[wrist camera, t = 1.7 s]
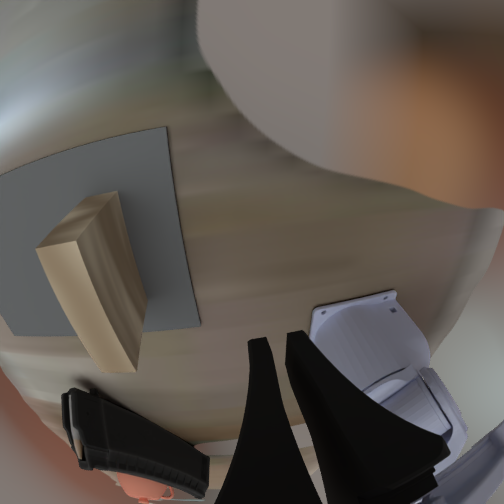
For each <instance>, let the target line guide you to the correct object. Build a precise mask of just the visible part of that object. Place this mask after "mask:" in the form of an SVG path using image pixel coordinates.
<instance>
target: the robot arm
mask: <svg viewBox="0 0 504 504" xmlns="http://www.w3.org/2000/svg"><path fill="white" fill-rule="evenodd" d="M396 295H397V292H396V291H395V290H391V291H387V292H383V293H379V294H375V295H371V296H367V297H362V298H358V299H354V300H349V301H345V302H340V303H336V304H331V305H326V306H321V307H317V308H315V309H314V310H313V312H312V320H311V327H310V334H309V337H308V335H307V334H306V333H305V332H304V331H303V330H300V331H295V332H290V333H287V343H286V358H285V365H286V369H287V373H288V377H289V381H290V384H291V387H292V390H293V392H294V395H295V397H296V400H297V402H298V405H299V407H300V410H301V412H302V415H303V417H304V419H305V422H306V424H307V427H308V429H309V432H310V435H311V438H312V441H313V445H314V449H315V452H316V456H317V460H318V463H319V467H320V471H321V475H322V480H323V484H324V488H325V493H326V497H327V502H328V504H485V503H486V502H487V501H488V500H489V499H490V497H491V496H492V495H493V493H494V492H495V491H496V490H497V488H498V487H499V486H500V484H501V483H502V481H503V480H504V420H503V421H502V422H501V423H500V424H499V425H498V426H497V427H496V428H494V429H493V430H492V431H490V432H489V433H488V434H487V435H485V436H484V437H483V438H482V439H480V440H479V441H478V442H477V443H476V444H475V445H474V446H472V449H470V450H469V451H468V452H467V453H465V454H464V455H463V456H462V457H460V458H459V459H458V460H456V459H457V457H458V456H459V454H460V452H461V450H462V448H463V446H464V444H465V442H466V440H467V437H468V435H467V433H466V431H467V429H468V427H467V426H466V424H465V422H464V420H463V418H462V417H461V412H460V410H459V408H458V406H457V404H456V403H455V401H454V399H453V398H452V396H451V394H450V393H449V391H448V390H447V388H446V387H445V385H444V384H443V382H442V381H441V379H440V378H439V376H438V375H437V373H436V372H435V371H434V369H433V368H428V367H429V364H430V350H429V346H428V343H427V340H426V338H425V336H424V335H423V333H422V332H421V331H420V329H419V328H418V327H417V325H416V324H415V323H414V322H413V320H412V319H411V318H410V317H409V315H408V314H407V313H406V312H405V310H404V309H403V308H402V307H401V306H400V304H399V303H398V302H397V301H396V300H395V298H396ZM322 311H323V312H322ZM248 353H249V363H250V373H249V386H248V394H247V401H246V407H245V413H244V418H243V423H242V427H241V431H240V435H239V439H238V443H237V446H236V450H235V453H234V456H233V459H232V462H231V465H230V467H229V470H228V473H227V475H226V478H225V481H224V483H223V486H222V488H221V490H220V492H219V495H218V497H217V499H216V501H215V503H214V504H322V502H321V500H320V498H319V496H318V493H317V491H316V489H315V487H314V484H313V482H312V480H311V478H310V475H309V473H308V470H307V468H306V466H305V463H304V461H303V458H302V456H301V453H300V451H299V448H298V445H297V443H296V440H295V438H294V435H293V432H292V429H291V427H290V424H289V421H288V418H287V415H286V412H285V409H284V406H283V402H282V398H281V393H280V388H279V383H278V378H277V373H276V369H275V364H274V359H273V354H272V351H271V348H270V346H269V343H268V341H267V338H266V337H263V338H257V339H251V340H249V341H248ZM422 377H423V378H424V380H423V378H422ZM425 382H426V383H425ZM428 387H429V388H428ZM443 411H444V412H443Z"/></svg>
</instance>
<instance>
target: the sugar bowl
mask: <svg viewBox="0 0 504 504" xmlns="http://www.w3.org/2000/svg"><path fill="white" fill-rule="evenodd" d="M117 476H118V480H119V482H120V484H121V486H122V488H123V489H124V491H125V492H126V494H127V495H129V496H130V497H134V498H139V501H138V502H139V503H145V504H149V501H148V500H158V499H160V498H162V499H171V498H173V496H174V490H173V488H172V487H171V486H169V488H170V491H171V495H170V496H169V497H164V496H162V495H163V494H164V492H165V490H166V488H167V485H164V484H161V483H158V482H155V481H152V480H149V479H145V478H141V477H137V476H133V475H129V474H124V473H119V472H117Z"/></svg>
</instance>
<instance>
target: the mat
mask: <svg viewBox="0 0 504 504" xmlns="http://www.w3.org/2000/svg"><path fill="white" fill-rule="evenodd" d="M114 191H118V196H119V200H120V205H121V209H122V213H123V218H124V222H125V226H126V230H127V233H128V237H129V241H130V245H131V248H132V252H133V255H134V259H135V262H136V265H137V269H138V272H139V275H140V278H141V281H142V284H143V287H144V290H145V293H146V296H147V299H148V302H147V308H146V313H145V319H144V325H143V331H142V332H152V331H163V330H173V329H183V328H191V327H200V326H201V323H200V319H199V314H198V310H197V306H196V301H195V297H194V293H193V288H192V283H191V279H190V274H189V269H188V264H187V259H186V254H185V249H184V243H183V238H182V232H181V227H180V221H179V215H178V209H177V203H176V196H175V190H174V183H173V176H172V169H171V161H170V153H169V145H168V137H167V127H161V128H155V129H150V130H144V131H139V132H135V133H130V134H125V135H121V136H117V137H112V138H108V139H104V140H100V141H97V142H93V143H89V144H86V145H82V146H79V147H76V148H72V149H69V150H66V151H63V152H60V153H57V154H54V155H51V156H48V157H45V158H42V159H40V160H37V161H34V162H32V163H29V164H27V165H24V166H22V167H19V168H17V169H15V170H12V171H10V172H8V173H5V174H3V175H1V176H0V314H1V315H2V317H3V318H4V320H5V322H6V323H7V325H8V326H9V328H10V330H11V331H12V333H13V334H14V336H78V335H77V333H76V332H75V330H74V328H73V327H72V325H71V323H70V321H69V319H68V318H67V316H66V314H65V312H64V310H63V308H62V307H61V305H60V303H59V301H58V299H57V297H56V295H55V293H54V291H53V289H52V286H51V284H50V282H49V280H48V278H47V276H46V273H45V271H44V269H43V266H42V264H41V262H40V259H39V257H38V254H37V252H36V249H35V248H36V247H37V246H38V245H39V244H40V243H41V242H42V241H43V239H44V238H45V237H46V236H47V235H48V234H49V233H50V232H51V231H52V230H53V229H54V228H55V227H56V226H57V225H58V224H59V223H60V222H61V220H62V219H63V218H64V217H65V216H66V215H67V214H69V213H70V212H71V211H72V210H73V209H74V208H75V207H76V206H77V205H78V204H79V203H80V202H81V201H82V200H83V199H84V198H86V197H91V196H95V195H100V194H104V193H109V192H114Z"/></svg>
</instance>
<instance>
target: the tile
mask: <svg viewBox="0 0 504 504" xmlns="http://www.w3.org/2000/svg"><path fill="white" fill-rule="evenodd" d="M35 249H36V252H37V254H38V257H39V259H40V262H41V264H42V266H43V269H44V271H45V273H46V276H47V278H48V280H49V282H50V284H51V286H52V289H53V291H54V293H55V295H56V297H57V299H58V301H59V303H60V305H61V307H62V308H63V310H64V312H65V314H66V316H67V318H68V319H69V321H70V323H71V325H72V327H73V328H74V330H75V332H76V333H77V335H78V337H79V338H80V340H81V342H82V343H83V345H84V346H85V348H86V350H87V351H88V353H89V354H90V356H91V357H92V359H93V360H94V362H95V363H96V365H97V366H98V368H99V369H100V370H101V372H102V373H114V372H137V365H138V358H139V350H140V343H141V337H142V331H143V325H144V319H145V313H146V308H147V302H148V299H147V296H146V293H145V290H144V287H143V284H142V281H141V278H140V275H139V272H138V269H137V265H136V262H135V259H134V255H133V252H132V248H131V245H130V241H129V237H128V233H127V230H126V226H125V222H124V218H123V213H122V209H121V205H120V200H119V196H118V191H114V192H109V193H104V194H100V195H95V196H91V197H86V198H84V199H83V200H82V201H81V202H80V203H79V204H78V205H77V206H76V207H75V208H74V209H73V210H72V211H71V212H70V213H69V214H67V215H66V216H65V217H64V218H63V219H62V220H61V222H60V223H59V224H58V225H57V226H56V227H55V228H54V229H53V230H52V231H51V232H50V233H49V234H48V235H47V236H46V237H45V238H44V239H43V241H42V242H41V243H40V244H39V245H38V246H37V247H36V248H35Z"/></svg>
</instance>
